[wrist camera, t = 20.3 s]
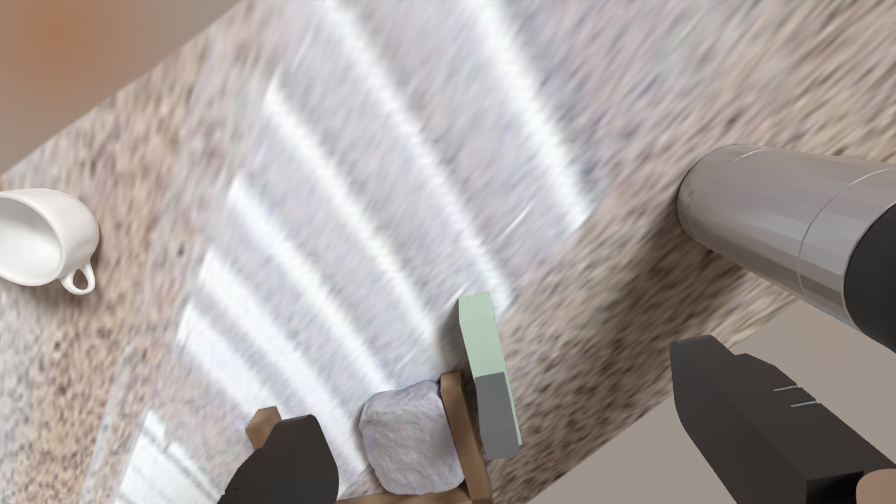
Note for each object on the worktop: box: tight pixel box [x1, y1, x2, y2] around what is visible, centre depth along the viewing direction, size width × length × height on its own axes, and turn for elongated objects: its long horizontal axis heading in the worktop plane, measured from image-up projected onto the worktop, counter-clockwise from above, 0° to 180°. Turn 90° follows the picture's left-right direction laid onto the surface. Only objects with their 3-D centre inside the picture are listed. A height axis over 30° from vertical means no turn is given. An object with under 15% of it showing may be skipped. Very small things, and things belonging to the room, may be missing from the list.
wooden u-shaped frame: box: [245, 370, 493, 504], centre depth 46 cm, size 22×16×3 cm
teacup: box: [0, 188, 100, 295], centre depth 37 cm, size 10×8×5 cm
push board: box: [459, 292, 522, 460], centre depth 38 cm, size 14×3×12 cm, turn 13°
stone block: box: [359, 380, 465, 495], centre depth 45 cm, size 12×5×10 cm
